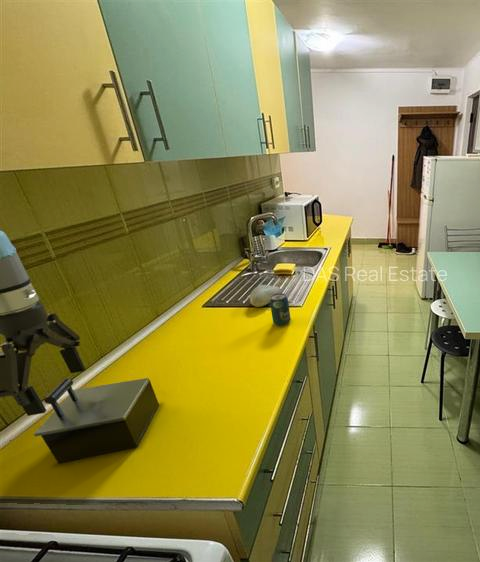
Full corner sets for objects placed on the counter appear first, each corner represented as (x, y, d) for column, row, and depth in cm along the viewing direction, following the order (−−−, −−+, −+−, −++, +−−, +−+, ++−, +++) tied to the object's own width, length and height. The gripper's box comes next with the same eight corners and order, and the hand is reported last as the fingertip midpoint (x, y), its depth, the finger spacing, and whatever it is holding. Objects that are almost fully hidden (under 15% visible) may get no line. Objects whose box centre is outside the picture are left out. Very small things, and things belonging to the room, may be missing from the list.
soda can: (286, 328, 120) (282, 301, 116) (270, 326, 122) (265, 299, 117) (293, 319, 127) (290, 293, 122) (278, 317, 128) (274, 292, 123)
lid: (35, 436, 65) (20, 412, 62) (75, 392, 77) (64, 370, 74) (124, 420, 68) (114, 396, 66) (149, 380, 80) (141, 359, 78)
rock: (242, 309, 134) (261, 292, 152) (267, 311, 133) (283, 294, 152) (240, 293, 131) (260, 278, 150) (266, 296, 130) (282, 280, 149)
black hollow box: (58, 463, 68) (40, 435, 65) (93, 417, 80) (80, 391, 77) (137, 447, 72) (124, 420, 68) (159, 405, 84) (149, 380, 80)
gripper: (-19, 338, 50) (39, 431, 59) (75, 282, 73) (108, 355, 81) (-78, 345, 49) (-10, 440, 57) (37, 286, 71) (74, 360, 79)
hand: (59, 390), depth 69 cm, fingers open, 13 cm apart
